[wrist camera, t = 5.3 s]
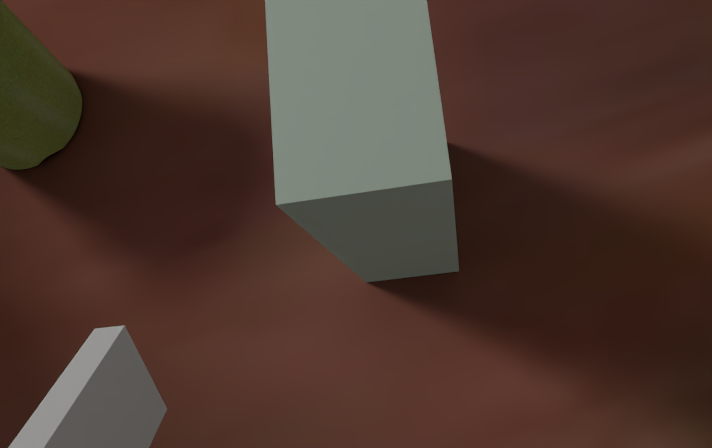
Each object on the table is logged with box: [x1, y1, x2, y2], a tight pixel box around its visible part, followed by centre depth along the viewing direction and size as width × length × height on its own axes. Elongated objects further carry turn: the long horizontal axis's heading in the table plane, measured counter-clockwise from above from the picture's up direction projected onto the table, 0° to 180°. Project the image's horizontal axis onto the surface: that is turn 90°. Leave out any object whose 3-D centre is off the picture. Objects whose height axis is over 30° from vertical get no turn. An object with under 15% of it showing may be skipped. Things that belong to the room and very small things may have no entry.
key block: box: [265, 0, 459, 282], centre depth 19 cm, size 4×6×12 cm, turn 6°
